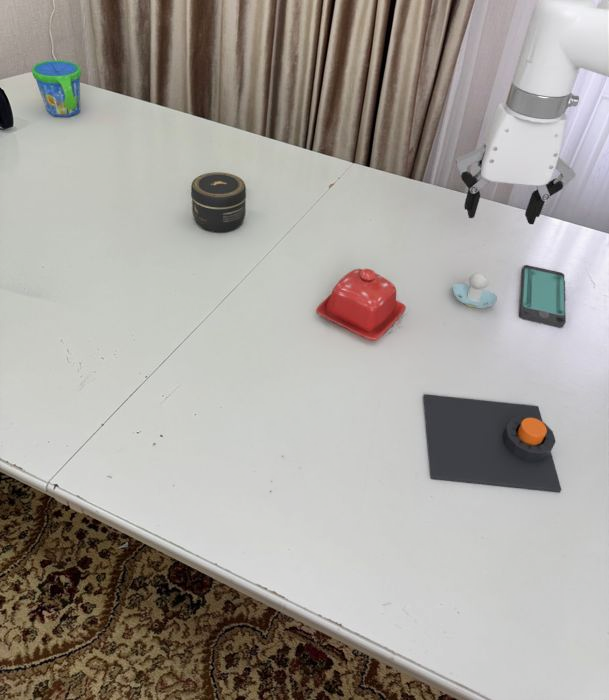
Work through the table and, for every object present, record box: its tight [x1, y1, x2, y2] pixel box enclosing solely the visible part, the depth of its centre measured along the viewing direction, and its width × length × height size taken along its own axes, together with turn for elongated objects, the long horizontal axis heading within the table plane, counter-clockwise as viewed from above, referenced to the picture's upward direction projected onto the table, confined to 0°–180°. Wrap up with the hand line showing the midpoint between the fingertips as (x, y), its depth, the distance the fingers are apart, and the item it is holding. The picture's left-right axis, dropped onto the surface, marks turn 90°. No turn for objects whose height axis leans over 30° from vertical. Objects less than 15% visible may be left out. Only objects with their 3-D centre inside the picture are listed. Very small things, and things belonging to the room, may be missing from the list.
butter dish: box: [315, 268, 407, 341], centre depth 97 cm, size 12×12×8 cm
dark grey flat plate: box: [422, 393, 562, 494], centre depth 81 cm, size 16×14×2 cm
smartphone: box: [518, 264, 567, 329], centre depth 106 cm, size 7×1×15 cm
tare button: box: [518, 418, 547, 445], centre depth 80 cm, size 3×3×2 cm
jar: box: [190, 171, 247, 234], centre depth 115 cm, size 10×10×8 cm
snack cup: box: [31, 59, 82, 118], centre depth 146 cm, size 16×10×10 cm
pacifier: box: [452, 272, 498, 309], centre depth 103 cm, size 7×6×6 cm
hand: (499, 216), depth 94 cm, fingers open, 8 cm apart
